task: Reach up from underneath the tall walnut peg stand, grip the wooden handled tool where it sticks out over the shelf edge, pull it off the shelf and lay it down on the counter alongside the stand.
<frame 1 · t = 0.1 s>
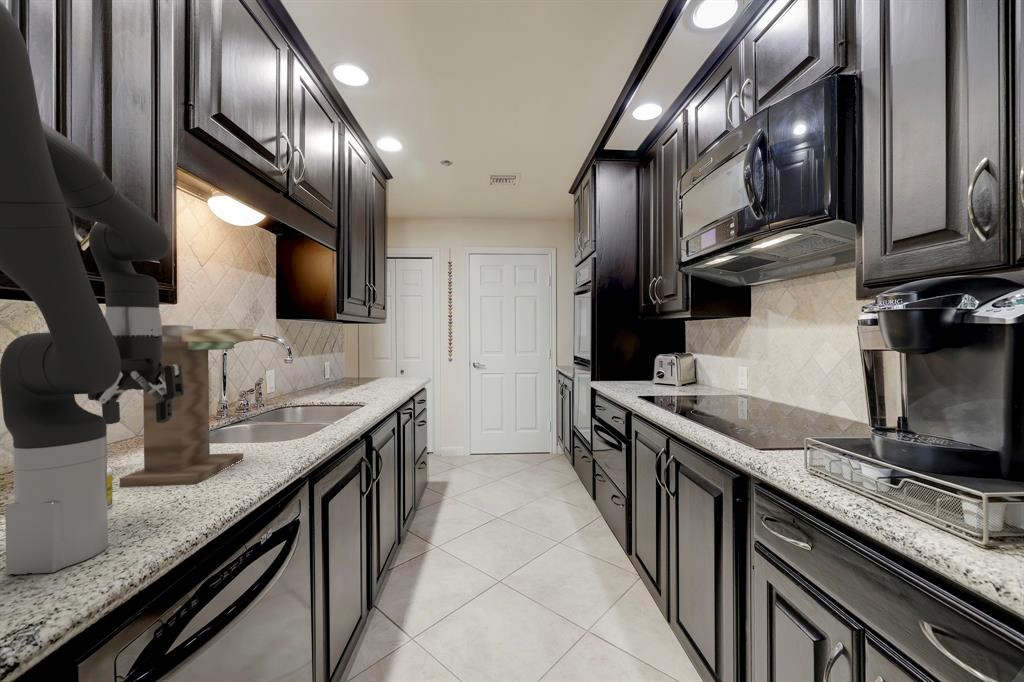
hand: (138, 422, 73), 17 cm above the countertop, tool pointing down, fingers open, 8 cm apart
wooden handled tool: (211, 341, 99), point 32 cm above the countertop, touching peg stand
pacifier: (175, 457, 114), on the countertop
supplement bottle: (92, 511, 77), on the countertop
peg stand: (187, 472, 99), on the countertop
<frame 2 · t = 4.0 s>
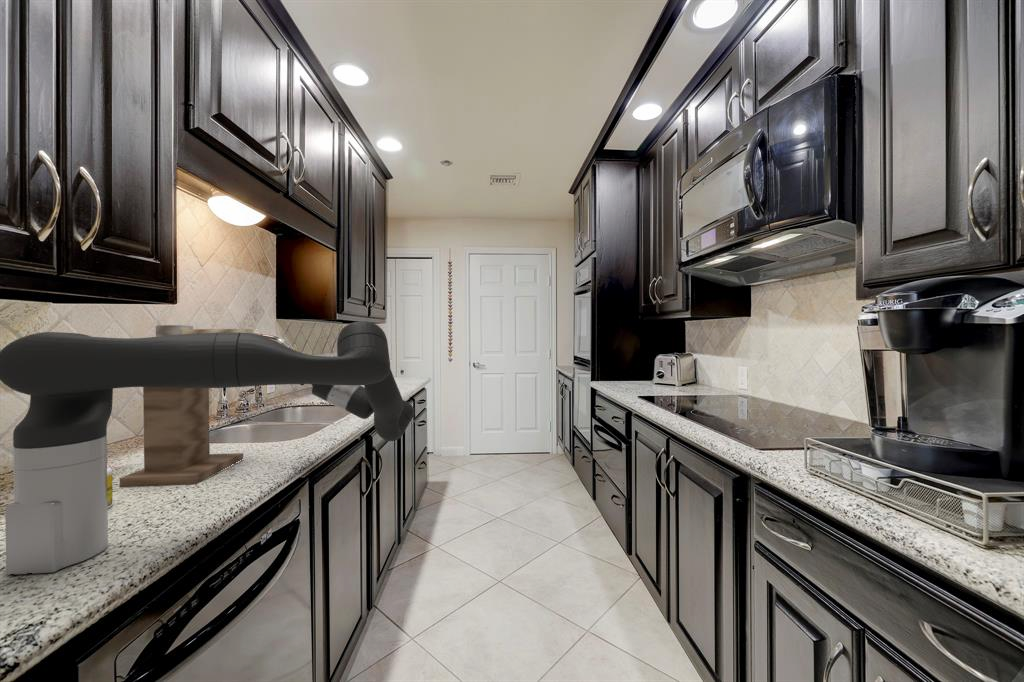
hand: (278, 358, 101), 28 cm above the countertop, tool pointing upward, fingers open, 8 cm apart
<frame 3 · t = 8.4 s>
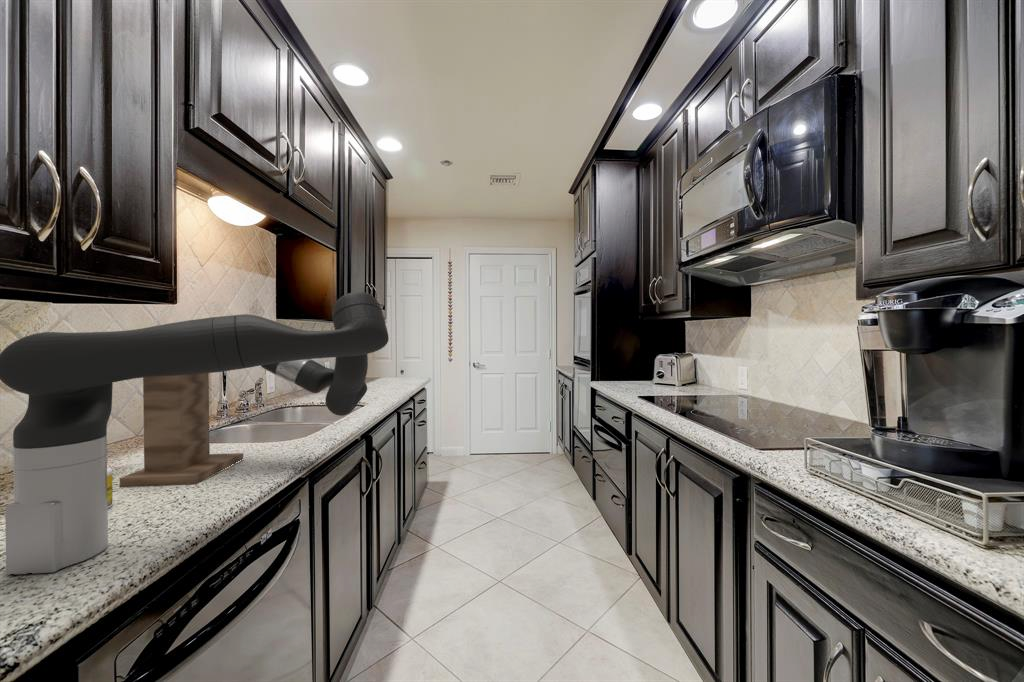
hand: (224, 329, 100), 35 cm above the countertop, tool pointing upward, fingers closed on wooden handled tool, 3 cm apart
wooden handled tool: (211, 341, 99), point 32 cm above the countertop, touching gripper, peg stand
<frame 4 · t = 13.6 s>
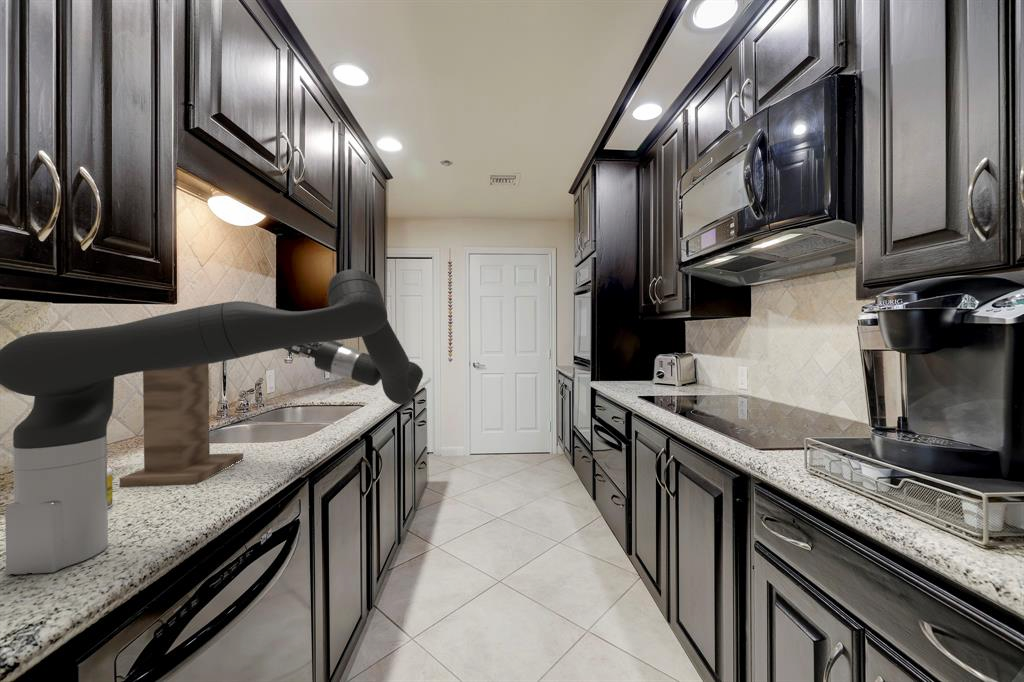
hand: (272, 335, 98), 33 cm above the countertop, tool pointing upward, fingers closed on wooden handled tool, 3 cm apart
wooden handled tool: (261, 349, 98), point 30 cm above the countertop, tilted 9°, touching gripper
when the fingers open (11 cm above the countertop, at t = 18.7 s): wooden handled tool drops 7 cm, on the countertop.
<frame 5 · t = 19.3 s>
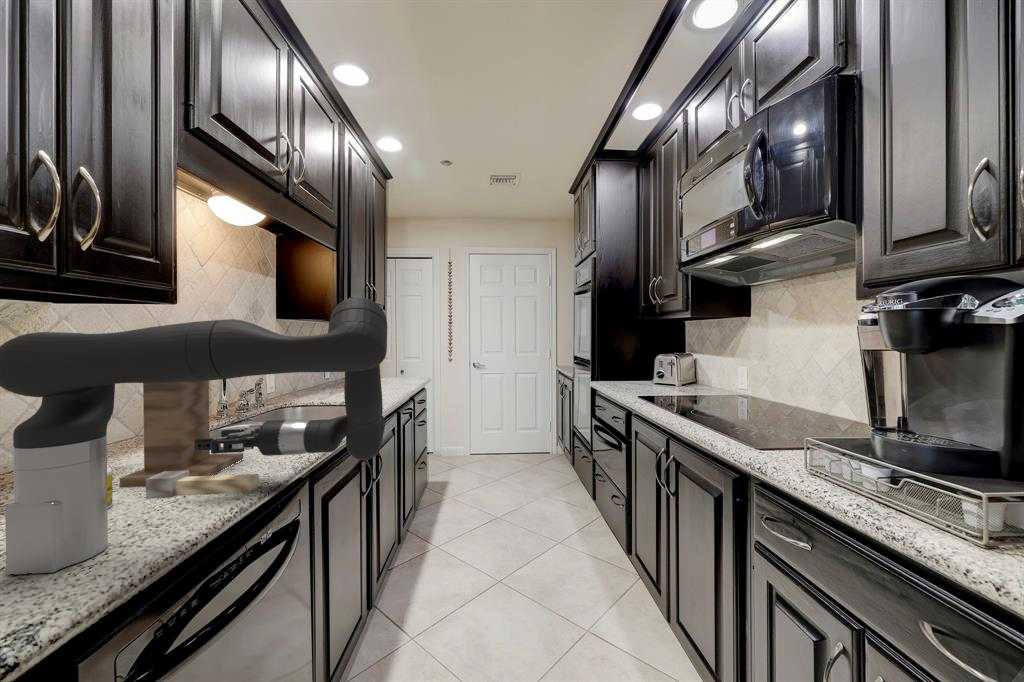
hand: (209, 439, 86), 11 cm above the countertop, tool horizontal, fingers open, 8 cm apart
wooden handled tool: (210, 491, 86), on the countertop
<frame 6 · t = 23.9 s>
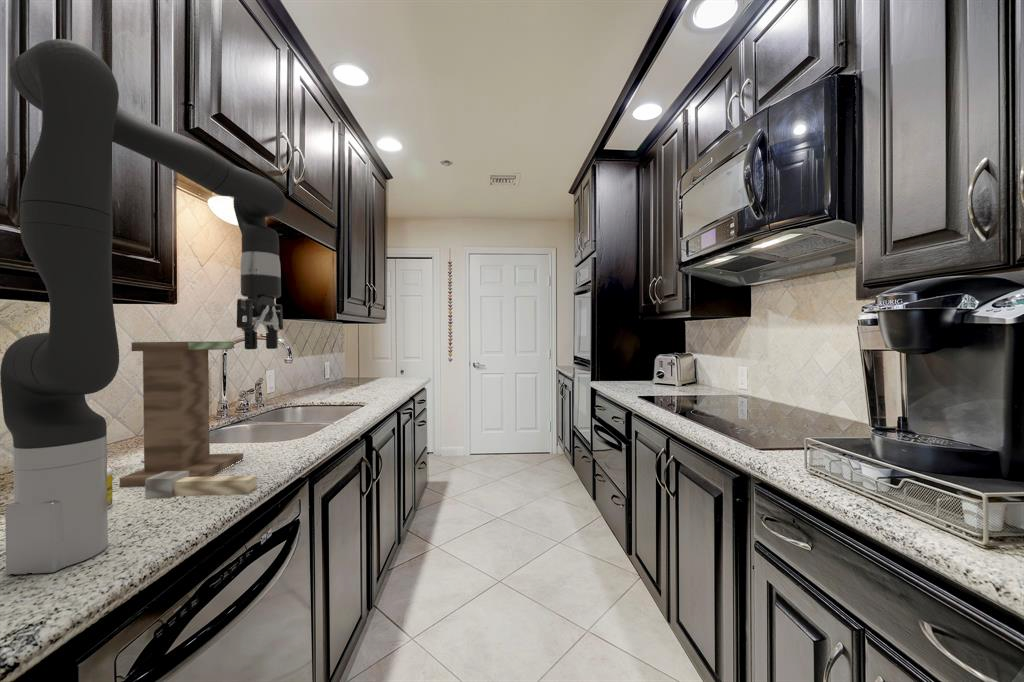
hand: (262, 349, 89), 30 cm above the countertop, tool pointing down, fingers open, 8 cm apart
at the end: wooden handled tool inside the target area (4.4 cm from its centre), on the countertop; the gripper is holding nothing; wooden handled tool moved 36.3 cm from its start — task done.
